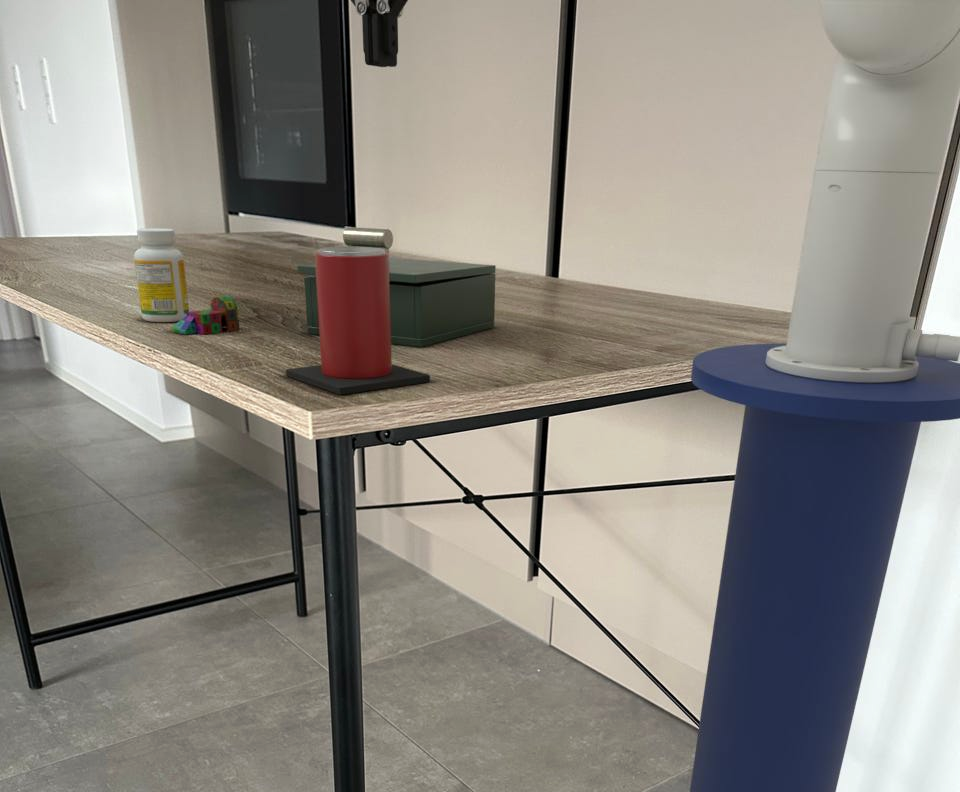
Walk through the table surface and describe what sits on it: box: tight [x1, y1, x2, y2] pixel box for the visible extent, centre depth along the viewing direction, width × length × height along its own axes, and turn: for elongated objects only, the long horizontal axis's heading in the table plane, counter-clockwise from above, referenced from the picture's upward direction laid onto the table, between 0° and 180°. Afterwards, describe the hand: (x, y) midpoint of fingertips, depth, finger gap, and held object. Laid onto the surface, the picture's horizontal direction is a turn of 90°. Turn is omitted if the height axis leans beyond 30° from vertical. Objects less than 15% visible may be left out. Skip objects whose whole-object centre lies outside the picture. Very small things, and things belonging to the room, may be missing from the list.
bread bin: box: [303, 272, 496, 348], centre depth 103 cm, size 16×15×6 cm
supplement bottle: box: [133, 227, 190, 323], centre depth 107 cm, size 5×5×10 cm
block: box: [170, 295, 241, 336], centre depth 102 cm, size 6×4×3 cm
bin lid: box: [297, 226, 497, 283], centre depth 100 cm, size 17×15×5 cm
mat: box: [285, 363, 431, 396], centre depth 81 cm, size 9×9×1 cm
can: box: [314, 246, 393, 379], centre depth 79 cm, size 6×6×10 cm
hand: (381, 65), depth 91 cm, fingers closed
